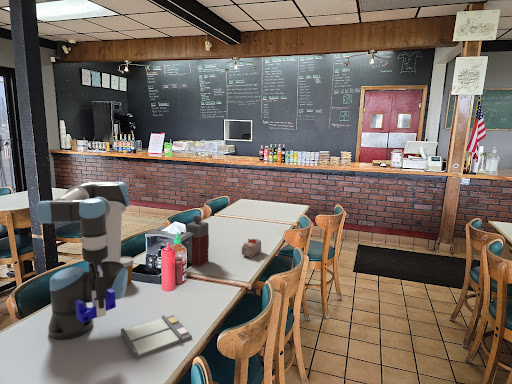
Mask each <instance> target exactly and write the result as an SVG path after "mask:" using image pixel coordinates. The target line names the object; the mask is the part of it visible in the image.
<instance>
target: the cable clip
mask: <svg viewBox="0 0 512 384" xmlns="http://www.w3.org/2000/svg"><path fill="white" fill-rule="evenodd" d="M106 296H107V298H106V299H105V306H106V312H108V311H110V310H112V309H115V308H117V307H116V306H117V305H116V300H115V291H114V290H112V289H108V290H107V292H106ZM87 307H88V306H87ZM87 307H85V306H84V302H82V301H81V300H80V299H79V300H76V301H75V308H76V318H77V319H78V320H79V321H80V322H81V323H84V322H86V321H89V320H91V319H95V318H97V312H96V306H95V307H93V306H92V307H91V306H90V307H88V308H87Z"/></svg>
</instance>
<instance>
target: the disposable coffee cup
mask: <svg viewBox="0 0 512 384" xmlns="http://www.w3.org/2000/svg"><path fill="white" fill-rule="evenodd" d="M120 262H121V263H123V264H124V268H126V269H127V270H128V278H127V279H128V280H127V286H128V285H130V284H131V283H132V277H133V267H134V266H133V265H134V263H135V262H134V259H133V257H132V256H120Z"/></svg>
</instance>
